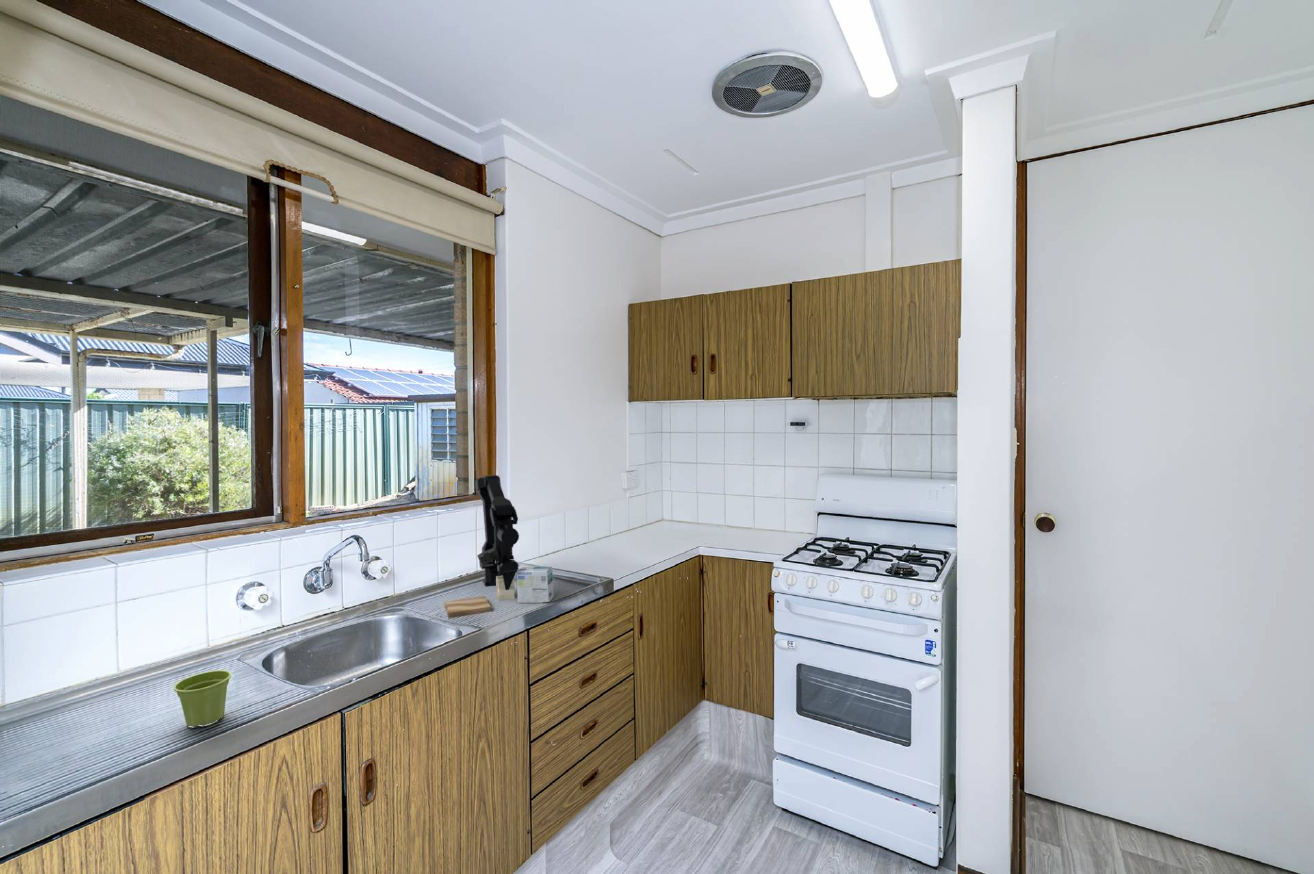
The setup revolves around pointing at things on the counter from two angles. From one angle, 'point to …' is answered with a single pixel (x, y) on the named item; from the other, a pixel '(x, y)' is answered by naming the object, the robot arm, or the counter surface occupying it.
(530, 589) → the light bulb box
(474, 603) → the tan wooden panel
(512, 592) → the beech block
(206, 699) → the plant pot
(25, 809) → the counter surface
